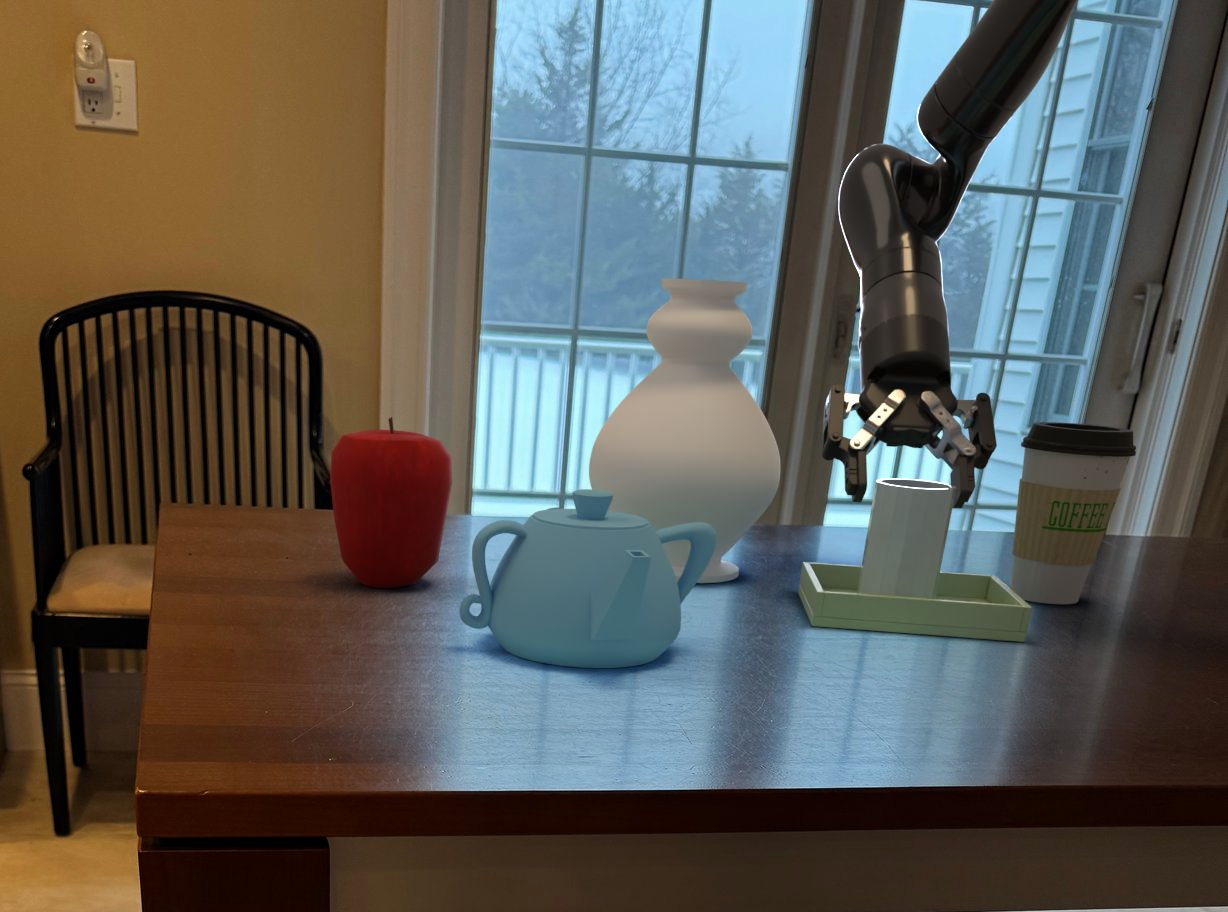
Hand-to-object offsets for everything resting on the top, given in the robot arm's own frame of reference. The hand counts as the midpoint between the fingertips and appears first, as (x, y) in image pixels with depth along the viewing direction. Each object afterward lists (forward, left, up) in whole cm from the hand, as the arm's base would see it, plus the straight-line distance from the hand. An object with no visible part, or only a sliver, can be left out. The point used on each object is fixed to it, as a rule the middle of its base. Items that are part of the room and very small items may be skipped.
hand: (910, 499), depth 118 cm
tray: (-1, +1, -9) cm, 10 cm away
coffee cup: (-16, -13, -10) cm, 23 cm away
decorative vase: (+19, -13, -10) cm, 25 cm away
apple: (+44, +3, -10) cm, 45 cm away
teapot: (+26, +22, -10) cm, 35 cm away
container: (0, +1, -9) cm, 9 cm away
